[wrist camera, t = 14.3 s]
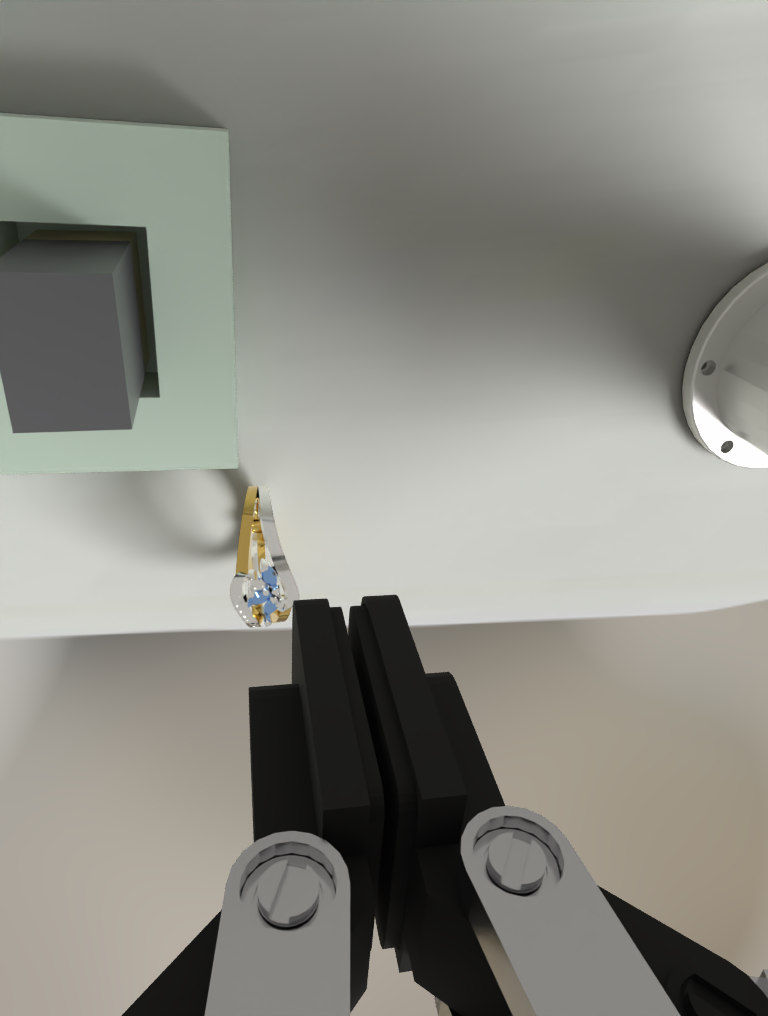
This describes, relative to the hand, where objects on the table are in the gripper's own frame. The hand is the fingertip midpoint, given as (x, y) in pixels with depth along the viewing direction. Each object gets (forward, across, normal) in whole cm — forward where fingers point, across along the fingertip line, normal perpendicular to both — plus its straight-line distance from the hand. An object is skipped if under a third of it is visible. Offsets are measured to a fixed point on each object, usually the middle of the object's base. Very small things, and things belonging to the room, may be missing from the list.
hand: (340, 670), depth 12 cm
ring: (+27, +1, +12) cm, 29 cm away
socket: (+26, +10, 0) cm, 28 cm away
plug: (+26, +8, 0) cm, 27 cm away
